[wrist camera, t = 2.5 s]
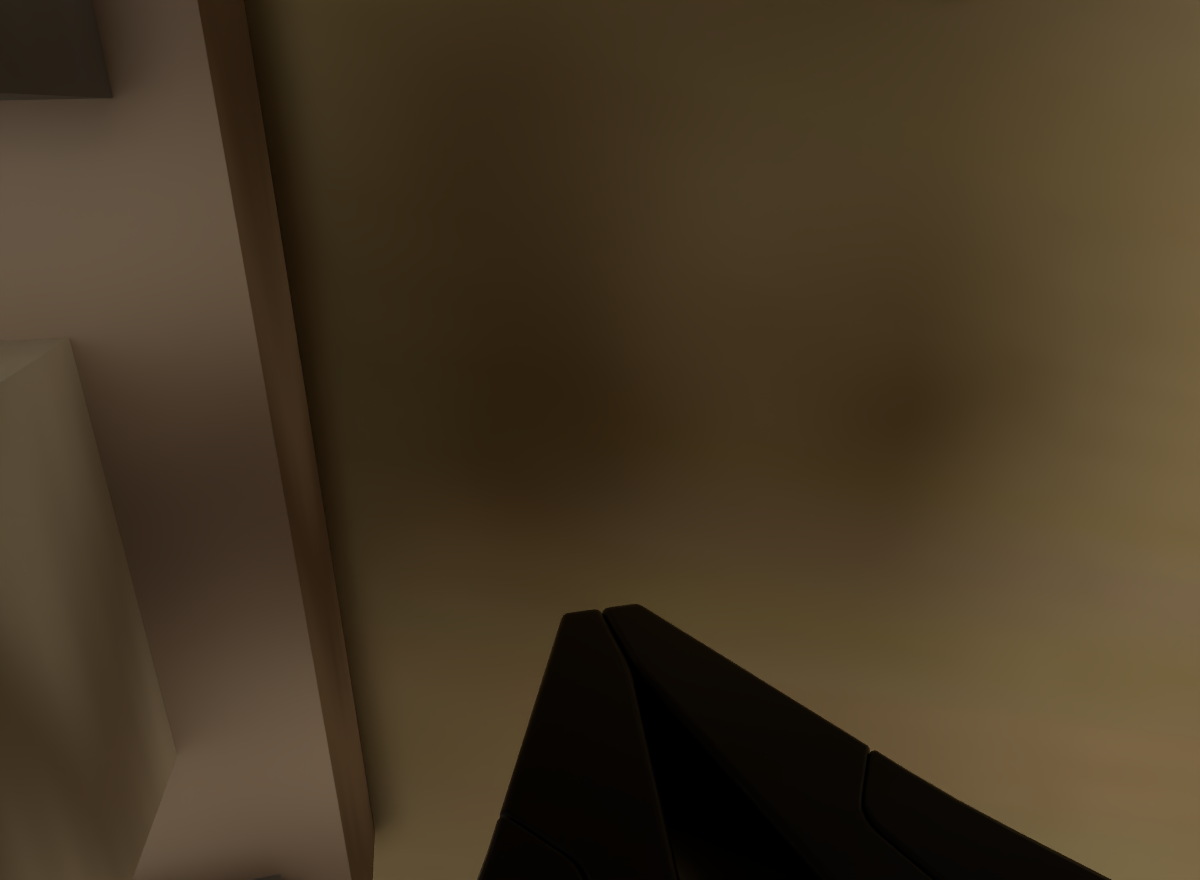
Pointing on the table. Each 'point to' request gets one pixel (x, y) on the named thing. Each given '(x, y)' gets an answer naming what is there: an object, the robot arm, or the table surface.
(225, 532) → the channel board
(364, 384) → the table surface
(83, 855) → the cream block
